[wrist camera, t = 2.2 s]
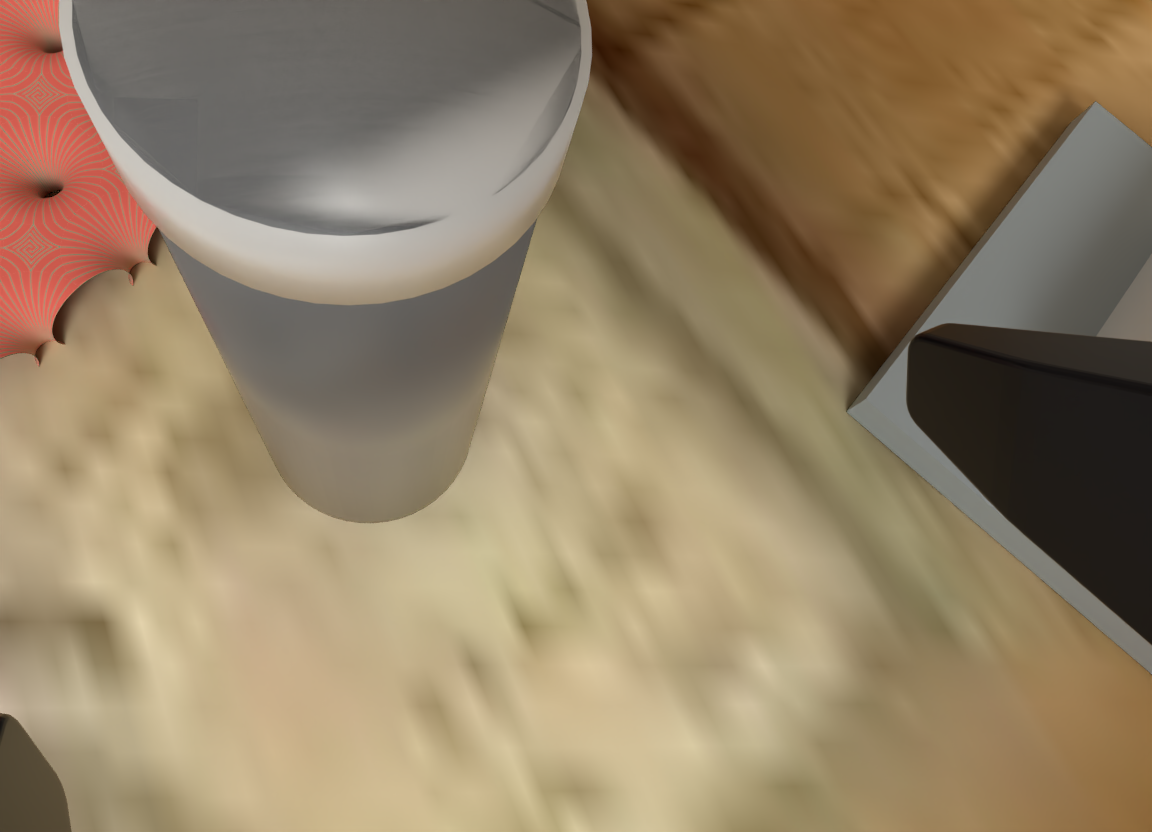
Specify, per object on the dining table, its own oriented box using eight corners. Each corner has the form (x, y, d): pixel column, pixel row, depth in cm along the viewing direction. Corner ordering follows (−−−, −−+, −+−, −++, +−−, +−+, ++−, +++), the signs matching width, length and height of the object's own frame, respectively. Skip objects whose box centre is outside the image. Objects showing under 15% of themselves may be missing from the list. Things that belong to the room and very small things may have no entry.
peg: (374, 572, 20) (344, 355, 7) (215, 428, 20) (-68, -10, 8) (518, 420, 21) (687, 34, 9) (368, 288, 21) (336, -261, 9)
